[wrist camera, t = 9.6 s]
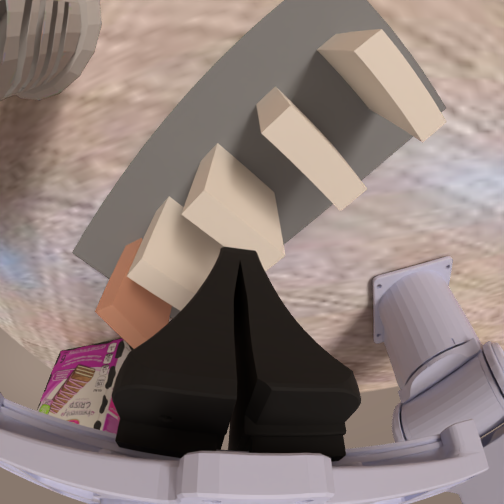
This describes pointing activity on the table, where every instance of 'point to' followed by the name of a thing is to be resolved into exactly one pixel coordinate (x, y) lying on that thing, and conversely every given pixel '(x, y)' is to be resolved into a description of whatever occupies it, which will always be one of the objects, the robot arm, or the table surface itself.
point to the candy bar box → (86, 385)
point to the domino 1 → (131, 303)
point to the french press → (45, 45)
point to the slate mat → (255, 125)
